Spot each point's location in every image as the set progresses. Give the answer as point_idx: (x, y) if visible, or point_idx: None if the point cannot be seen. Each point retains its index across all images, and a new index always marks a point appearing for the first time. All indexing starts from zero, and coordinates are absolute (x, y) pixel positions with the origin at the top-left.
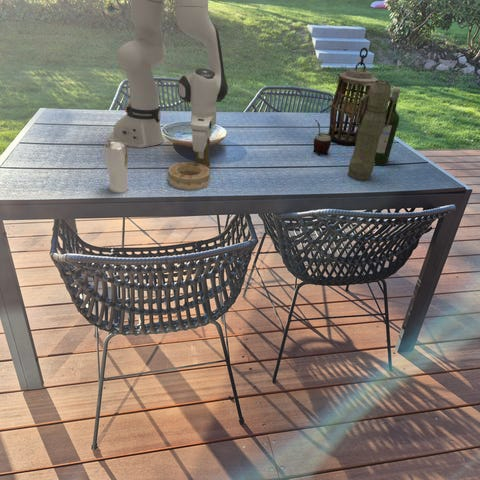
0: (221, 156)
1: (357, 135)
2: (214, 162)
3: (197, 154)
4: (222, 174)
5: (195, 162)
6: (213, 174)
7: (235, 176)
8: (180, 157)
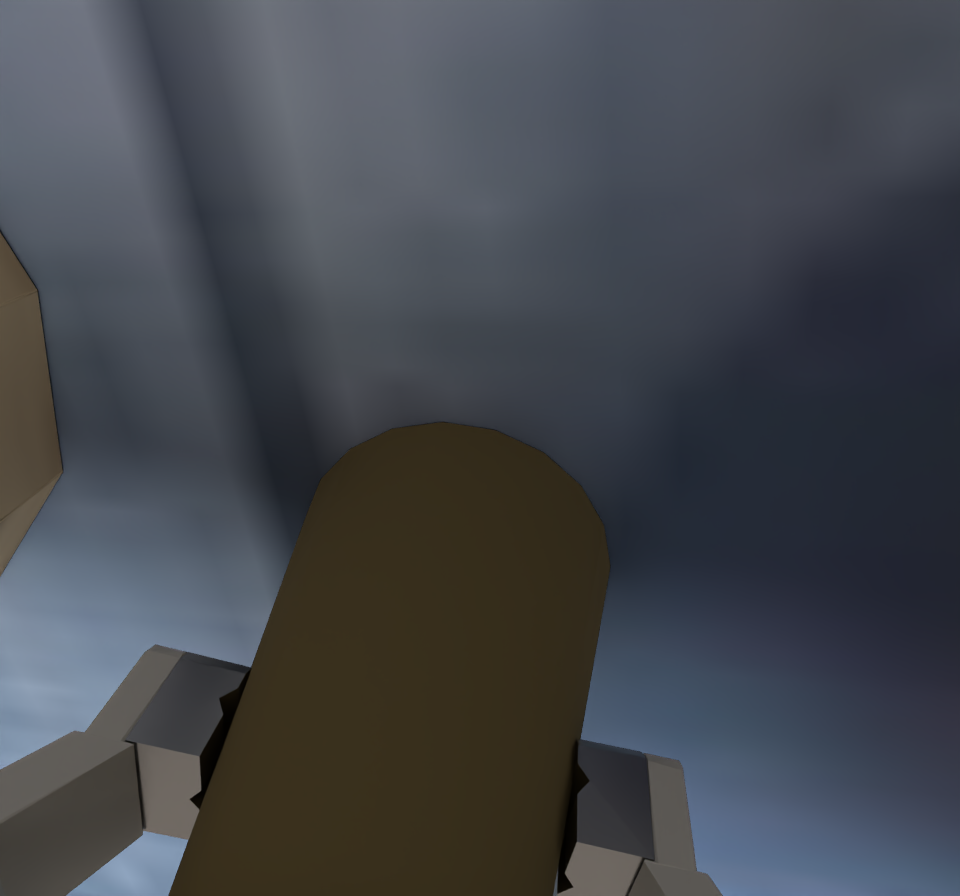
0: (868, 857)
1: None
2: (595, 740)
3: (274, 654)
4: None
5: (369, 480)
6: (120, 675)
7: (156, 875)
8: (927, 71)
